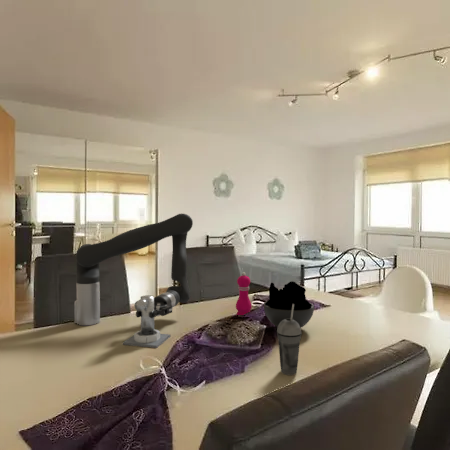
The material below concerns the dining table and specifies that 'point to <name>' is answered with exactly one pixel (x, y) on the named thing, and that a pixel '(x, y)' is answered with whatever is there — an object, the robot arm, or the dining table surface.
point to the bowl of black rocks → (288, 304)
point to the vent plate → (151, 344)
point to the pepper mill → (243, 295)
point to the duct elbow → (146, 314)
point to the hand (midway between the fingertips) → (144, 315)
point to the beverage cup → (289, 344)
